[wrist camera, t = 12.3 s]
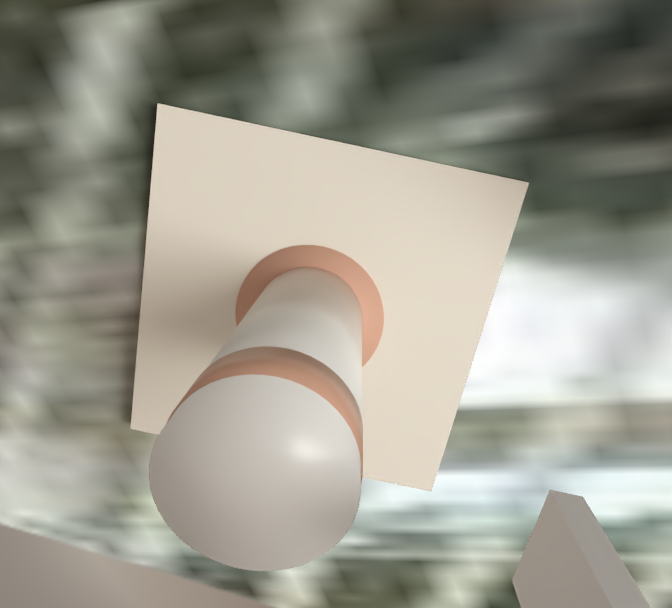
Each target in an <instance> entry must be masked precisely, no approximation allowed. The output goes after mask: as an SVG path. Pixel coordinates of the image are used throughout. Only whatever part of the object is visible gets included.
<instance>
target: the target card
mask: <svg viewBox="0 0 672 608" xmlns="http://www.w3.org/2000/svg"><path fill="white" fill-rule="evenodd" d="M528 185H529V183H528V182H524V181H519V180H514V179H509V178H505V177H500V176H495V175H491V174H486V173H481V172H477V171H472V170H467V169H463V168H458V167H453V166H449V165H444V164H439V163H435V162H430V161H425V160H421V159H416V158H411V157H406V156H402V155H397V154H392V153H388V152H383V151H378V150H374V149H369V148H364V147H360V146H355V145H350V144H346V143H341V142H336V141H332V140H327V139H322V138H318V137H313V136H308V135H304V134H299V133H294V132H289V131H285V130H280V129H275V128H271V127H266V126H261V125H257V124H252V123H247V122H243V121H238V120H233V119H229V118H224V117H219V116H215V115H210V114H205V113H201V112H196V111H191V110H187V109H182V108H177V107H172V106H168V105H163V104H157V116H156V128H155V140H154V152H153V164H152V176H151V188H150V200H149V212H148V224H147V236H146V248H145V260H144V272H143V285H142V297H141V309H140V321H139V333H138V345H137V357H136V369H135V381H134V393H133V405H132V417H131V429H134V430H139V431H143V432H148V433H153V434H158V435H159V434H160V432H161V430H162V429H163V428H164V426H165V425H166V423H167V421H168V419H169V417H170V415H171V413H172V412H173V411H174V409H175V408H176V406H177V405H178V404H179V402H180V401H181V400H182V398H183V397H184V396H185V394H186V393H187V392H188V390H189V389H190V387H191V386H192V385H193V383H194V382H195V381H196V379H197V378H198V377H199V375H200V374H201V373H202V372H203V371H204V370H205V369H206V368H207V367H208V366H209V365H210V363H211V362H212V360H213V359H214V358H215V356H216V355H217V354H218V352H219V351H220V349H221V348H222V347H223V345H224V344H225V343H226V341H227V340H228V338H229V337H230V336H231V334H232V333H233V332H234V330H235V329H236V327H237V326H238V325H239V323H240V322H241V321H242V319H243V318H244V316H245V315H246V314H247V312H248V311H249V310H250V308H251V307H252V306H253V304H254V303H255V301H256V300H257V299H258V297H259V296H260V295H261V293H262V292H263V290H264V289H265V288H266V286H267V285H268V284H269V283H270V282H271V281H272V280H273V279H274V278H276V277H277V276H278V275H280V274H282V273H284V272H286V271H288V270H291V269H295V268H300V267H315V268H321V269H324V270H327V271H330V272H332V273H334V274H336V275H337V276H339V277H340V278H342V279H343V280H344V281H345V282H346V283H347V284H348V285H349V286H350V287H351V288H352V290H353V291H354V292H355V294H356V296H357V298H358V300H359V303H360V306H361V310H362V403H361V417H362V424H363V476H362V477H364V478H369V479H374V480H379V481H384V482H388V483H393V484H398V485H403V486H408V487H412V488H417V489H422V490H427V491H432V488H433V484H434V481H435V478H436V475H437V472H438V469H439V465H440V462H441V459H442V456H443V453H444V450H445V447H446V443H447V440H448V437H449V434H450V431H451V428H452V424H453V421H454V418H455V415H456V412H457V409H458V406H459V402H460V399H461V396H462V393H463V390H464V387H465V383H466V380H467V377H468V374H469V371H470V368H471V365H472V361H473V358H474V355H475V352H476V349H477V346H478V342H479V339H480V336H481V333H482V330H483V327H484V323H485V320H486V317H487V314H488V311H489V308H490V305H491V301H492V298H493V295H494V292H495V289H496V286H497V282H498V279H499V276H500V273H501V270H502V267H503V264H504V260H505V257H506V254H507V251H508V248H509V245H510V241H511V238H512V235H513V232H514V229H515V226H516V223H517V219H518V216H519V213H520V210H521V207H522V204H523V200H524V197H525V194H526V191H527V188H528Z"/></svg>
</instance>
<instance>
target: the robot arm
mask: <svg viewBox="0 0 672 608" xmlns="http://www.w3.org/2000/svg"><path fill="white" fill-rule="evenodd" d="M512 582H513V585H514V588H515V591H516V594H517V597H518V600H519V603H520V606H521V608H651V607H650V606H649V604H648V602H647V601H646V599H645V597H644V596H643V594H642V593H641V591H640V589H639V588H638V586H637V584H636V583H635V581H634V580H633V578H632V576H631V575H630V573H629V571H628V570H627V568H626V566H625V565H624V563H623V562H622V560H621V558H620V557H619V555H618V553H617V552H616V550H615V549H614V547H613V545H612V544H611V542H610V540H609V539H608V537H607V535H606V534H605V532H604V531H603V529H602V527H601V526H600V524H599V522H598V521H597V519H596V518H595V516H594V514H593V513H592V511H591V509H590V508H589V506H588V504H587V503H586V501H585V500H584V498H583V497H581V496H577V495H572V494H567V493H563V492H558V491H553V490H550V491H549V493H548V496H547V498H546V501H545V503H544V505H543V508H542V510H541V513H540V515H539V517H538V520H537V522H536V524H535V527H534V529H533V532H532V534H531V536H530V539H529V541H528V544H527V546H526V548H525V551H524V553H523V556H522V558H521V560H520V563H519V565H518V568H517V570H516V572H515V575H514V577H513V580H512Z"/></svg>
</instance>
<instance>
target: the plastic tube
mask: <svg viewBox="0 0 672 608" xmlns="http://www.w3.org/2000/svg"><path fill="white" fill-rule="evenodd" d="M361 403H362V310H361V306H360V303H359V300H358V298H357V296H356V294H355V292H354V291H353V290H352V288H351V287H350V286H349V285H348V284H347V283H346V282H345V281H344V280H343V279H342V278H340V277H339V276H337V275H336V274H334V273H332V272H330V271H327V270H324V269H321V268H315V267H300V268H295V269H291V270H288V271H286V272H284V273H282V274H280V275H278V276H277V277H276V278H274V279H273V280H272V281H271V282H270V283H269V284H268V285H267V286H266V288H265V289H264V290H263V292H262V293H261V295H260V296H259V297H258V299H257V300H256V301H255V303H254V304H253V306H252V307H251V308H250V310H249V311H248V312H247V314H246V315H245V316H244V318H243V319H242V321H241V322H240V323H239V325H238V326H237V327H236V329H235V330H234V332H233V333H232V334H231V336H230V337H229V338H228V340H227V341H226V343H225V344H224V345H223V347H222V348H221V349H220V351H219V352H218V354H217V355H216V356H215V358H214V359H213V360H212V362H211V363H210V365H209V366H208V367H207V368H206V369H205V370H204V371H203V372H202V373H201V374H200V375H199V377H198V378H197V379H196V381H195V382H194V383H193V385H192V386H191V387H190V389H189V390H188V392H187V393H186V394H185V396H184V397H183V398H182V400H181V401H180V402H179V404H178V405H177V406H176V408H175V409H174V411H173V412H172V413H171V415H170V417H169V419H168V421H167V423H166V425H165V426H164V428H163V429H162V430H161V432H160V434H159V436H158V438H157V439H156V441H155V444H154V446H153V449H152V452H151V457H150V462H149V482H150V489H151V492H152V496H153V499H154V502H155V504H156V506H157V509H158V511H159V512H160V514H161V516H162V517H163V519H164V521H165V522H166V523H167V525H168V526H169V527H170V528H171V530H172V531H173V532H174V533H175V534H176V535H177V536H178V537H179V538H180V539H181V540H182V541H183V542H185V543H186V544H187V545H189V546H190V547H191V548H192V549H194V550H196V551H197V552H199V553H200V554H202V555H204V556H206V557H208V558H210V559H212V560H214V561H217V562H219V563H222V564H225V565H228V566H232V567H236V568H240V569H246V570H254V571H275V570H283V569H289V568H293V567H297V566H300V565H303V564H306V563H308V562H310V561H313V560H315V559H317V558H318V557H320V556H322V555H324V554H325V553H326V552H328V551H329V550H330V549H332V548H333V547H334V546H335V545H336V544H337V543H338V542H339V541H340V540H341V539H342V538H343V537H344V535H345V534H346V533H347V531H348V530H349V528H350V527H351V525H352V523H353V521H354V519H355V516H356V513H357V511H358V507H359V502H360V493H361V481H362V476H363V424H362V417H361Z"/></svg>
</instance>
